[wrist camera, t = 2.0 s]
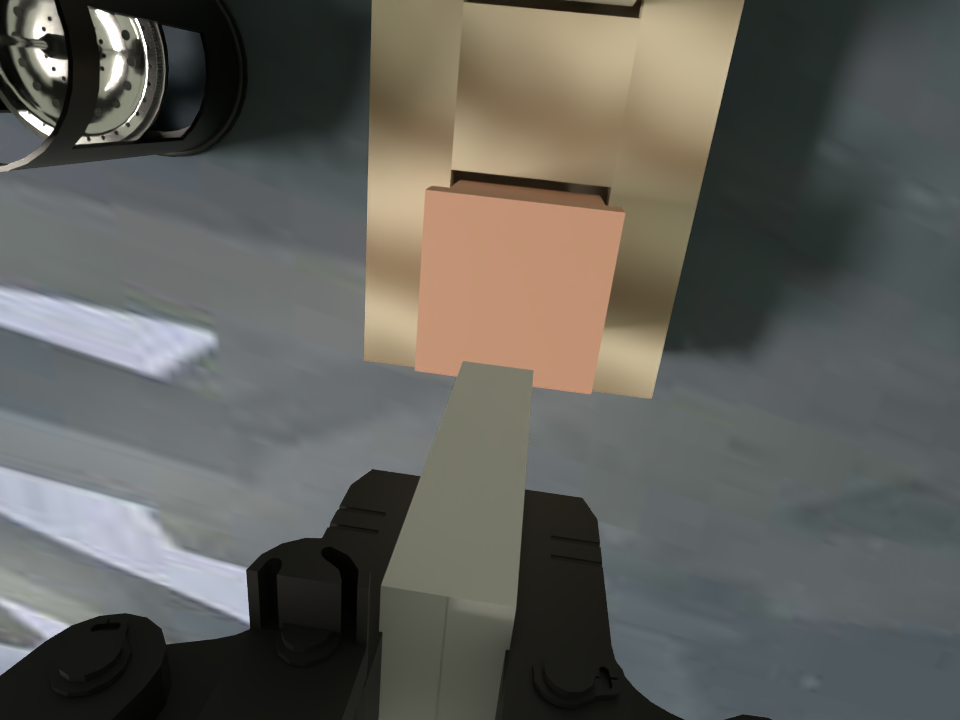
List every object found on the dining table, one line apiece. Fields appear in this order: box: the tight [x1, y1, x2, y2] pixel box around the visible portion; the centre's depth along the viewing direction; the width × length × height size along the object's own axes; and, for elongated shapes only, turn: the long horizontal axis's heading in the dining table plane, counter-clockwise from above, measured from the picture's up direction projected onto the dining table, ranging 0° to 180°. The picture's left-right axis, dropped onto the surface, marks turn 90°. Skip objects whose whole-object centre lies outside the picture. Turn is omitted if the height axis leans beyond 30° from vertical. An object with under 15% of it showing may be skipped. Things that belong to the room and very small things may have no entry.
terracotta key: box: [415, 180, 625, 394], centre depth 24 cm, size 7×7×6 cm
